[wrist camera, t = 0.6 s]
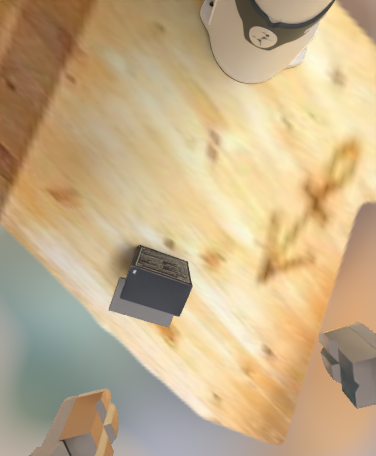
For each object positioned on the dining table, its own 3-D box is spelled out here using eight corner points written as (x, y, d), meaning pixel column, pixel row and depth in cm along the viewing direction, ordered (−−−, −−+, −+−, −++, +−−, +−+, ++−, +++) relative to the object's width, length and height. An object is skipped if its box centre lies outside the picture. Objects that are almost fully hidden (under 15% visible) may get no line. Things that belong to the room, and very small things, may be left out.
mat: (120, 277, 48) (119, 277, 48) (181, 296, 50) (181, 297, 50) (109, 309, 50) (108, 310, 49) (168, 326, 51) (168, 327, 51)
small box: (128, 273, 48) (116, 300, 38) (138, 243, 47) (130, 263, 37) (177, 289, 50) (179, 319, 40) (189, 261, 49) (194, 285, 38)
